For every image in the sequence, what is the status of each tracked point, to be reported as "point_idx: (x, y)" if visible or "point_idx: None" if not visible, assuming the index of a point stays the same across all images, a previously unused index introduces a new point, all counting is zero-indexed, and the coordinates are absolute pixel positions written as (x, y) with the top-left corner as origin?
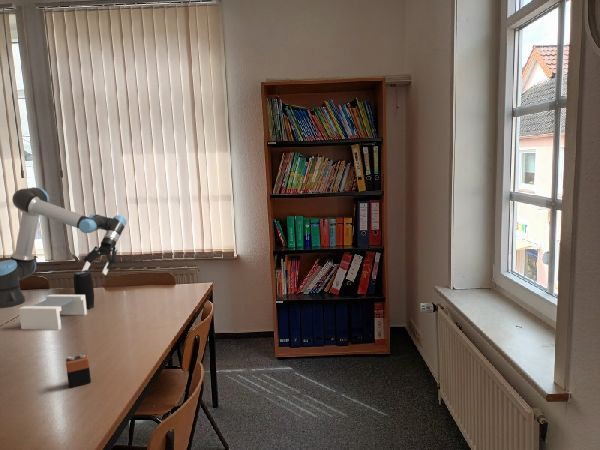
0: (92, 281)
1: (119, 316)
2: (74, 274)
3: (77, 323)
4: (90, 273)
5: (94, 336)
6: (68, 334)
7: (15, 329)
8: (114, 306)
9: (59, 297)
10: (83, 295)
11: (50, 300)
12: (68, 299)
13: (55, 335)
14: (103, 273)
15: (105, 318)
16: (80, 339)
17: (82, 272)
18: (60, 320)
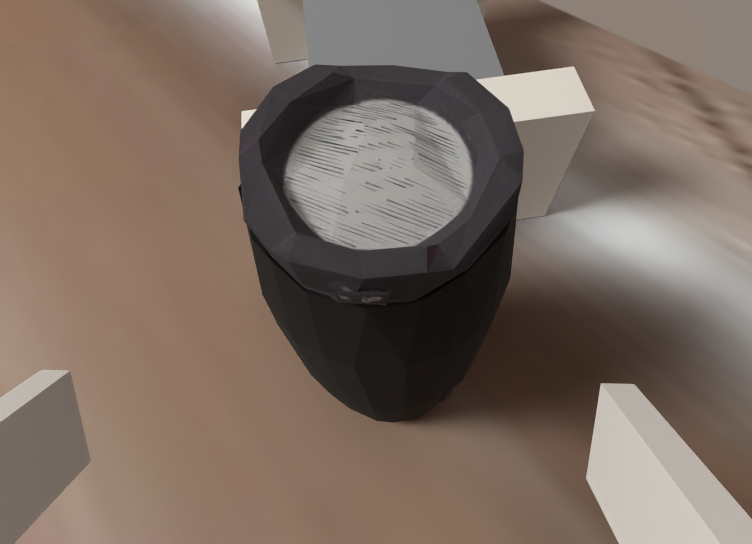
0: (270, 307)
1: (24, 251)
2: (438, 78)
3: (233, 121)
4: (252, 241)
5: (50, 33)
6: (186, 25)
7: (503, 15)
8: (160, 441)
9: (420, 67)
10: None
11: (428, 12)
12: (308, 59)
13: (240, 9)
14: (65, 404)
15: (104, 207)
16: (99, 5)
17: (389, 181)
18: (264, 25)
